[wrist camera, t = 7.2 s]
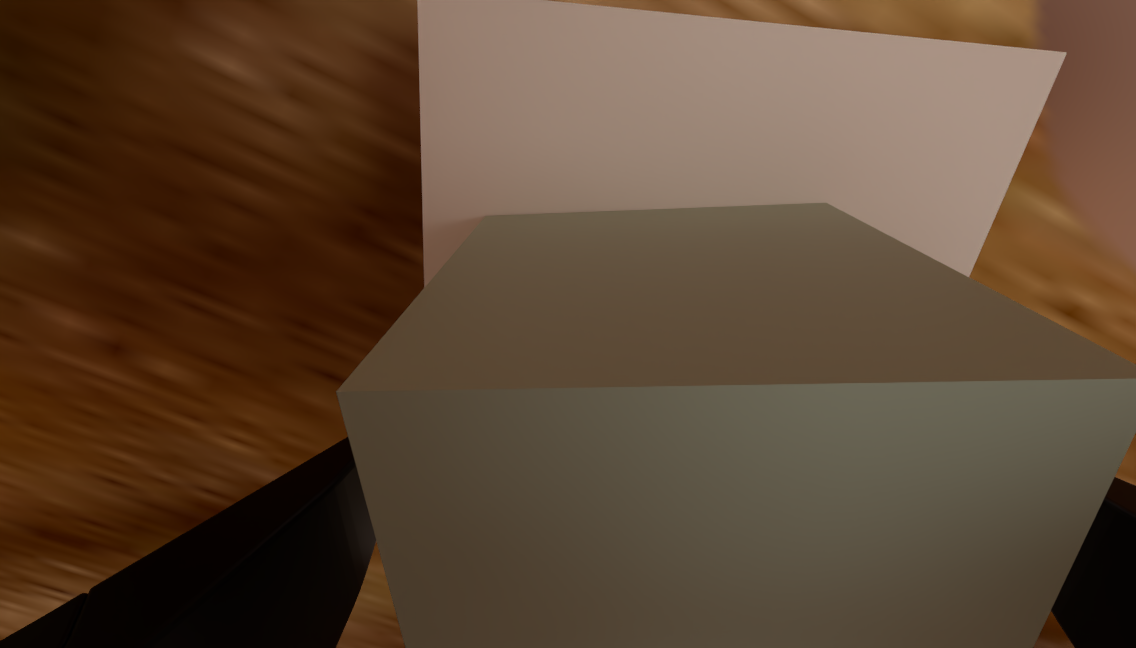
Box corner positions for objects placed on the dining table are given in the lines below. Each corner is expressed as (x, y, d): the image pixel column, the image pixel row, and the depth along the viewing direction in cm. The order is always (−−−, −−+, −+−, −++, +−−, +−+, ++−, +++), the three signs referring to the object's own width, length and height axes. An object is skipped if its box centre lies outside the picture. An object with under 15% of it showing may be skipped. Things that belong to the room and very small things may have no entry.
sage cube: (785, 475, 12) (949, 821, 6) (515, 477, 12) (447, 802, 7) (825, 202, 9) (1161, 378, 4) (485, 216, 10) (335, 391, 4)
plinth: (780, 483, 17) (830, 594, 13) (467, 448, 17) (430, 548, 13) (921, 62, 12) (1066, 53, 8) (473, 16, 12) (417, -13, 8)
